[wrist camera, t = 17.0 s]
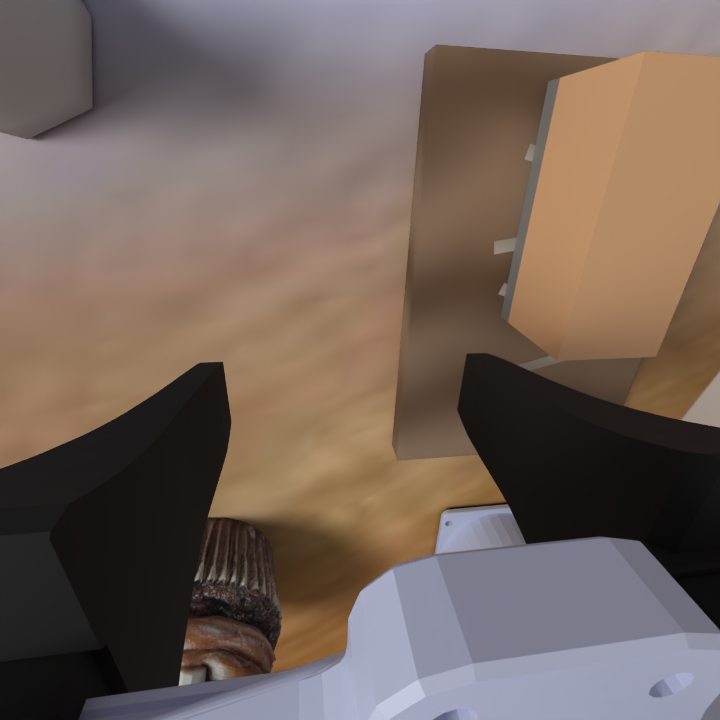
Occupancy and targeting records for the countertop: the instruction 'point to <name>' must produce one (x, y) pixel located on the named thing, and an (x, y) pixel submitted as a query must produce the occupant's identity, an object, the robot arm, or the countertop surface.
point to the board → (475, 240)
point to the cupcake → (231, 606)
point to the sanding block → (616, 205)
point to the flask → (43, 64)
